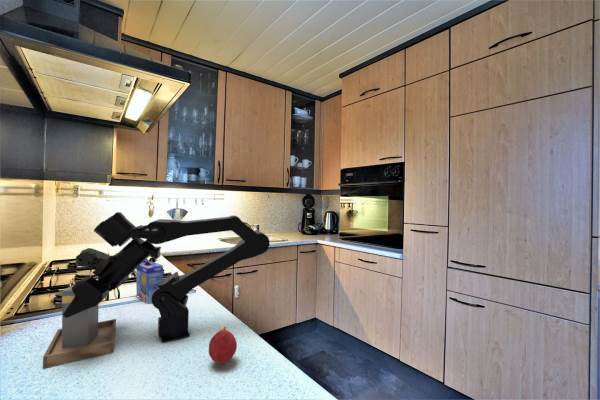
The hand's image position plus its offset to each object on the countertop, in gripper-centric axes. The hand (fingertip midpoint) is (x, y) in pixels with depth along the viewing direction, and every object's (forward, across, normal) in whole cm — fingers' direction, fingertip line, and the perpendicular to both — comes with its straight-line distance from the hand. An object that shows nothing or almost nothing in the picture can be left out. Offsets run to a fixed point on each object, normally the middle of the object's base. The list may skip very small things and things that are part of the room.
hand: (75, 308), depth 66 cm
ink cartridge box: (0, -30, +13) cm, 32 cm away
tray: (+5, 0, +8) cm, 9 cm away
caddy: (+5, 0, +6) cm, 8 cm away
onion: (-17, +16, +30) cm, 38 cm away
